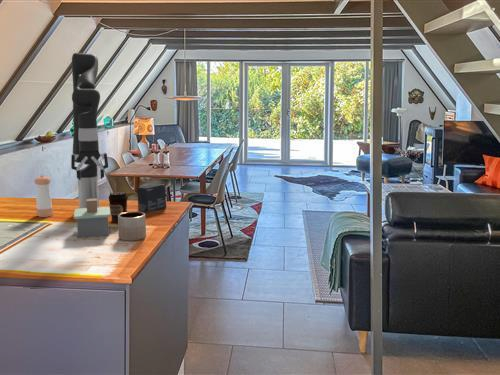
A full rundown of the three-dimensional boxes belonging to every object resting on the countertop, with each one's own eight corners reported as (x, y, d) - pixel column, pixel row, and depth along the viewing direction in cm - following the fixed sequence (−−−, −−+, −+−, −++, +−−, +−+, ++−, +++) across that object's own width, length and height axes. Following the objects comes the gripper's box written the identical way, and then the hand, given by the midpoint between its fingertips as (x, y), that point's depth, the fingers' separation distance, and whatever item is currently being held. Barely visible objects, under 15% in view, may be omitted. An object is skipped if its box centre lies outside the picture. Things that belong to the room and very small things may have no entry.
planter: (121, 234, 210) (120, 211, 208) (147, 233, 211) (146, 211, 209) (116, 241, 199) (115, 218, 197) (144, 241, 200) (143, 217, 198)
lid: (75, 212, 215) (74, 197, 213) (109, 210, 219) (108, 195, 217) (74, 220, 202) (73, 204, 200) (110, 218, 206) (109, 202, 204)
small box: (157, 205, 260) (156, 182, 258) (166, 207, 257) (166, 184, 254) (137, 210, 250) (136, 186, 248) (147, 212, 246) (146, 188, 244)
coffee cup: (123, 224, 225) (122, 195, 222) (105, 223, 226) (104, 194, 224) (131, 219, 233) (130, 191, 231) (114, 218, 235) (113, 190, 232)
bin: (78, 229, 215) (77, 211, 214) (108, 227, 219) (107, 209, 217) (77, 237, 204) (76, 218, 203) (108, 235, 208) (107, 216, 206)
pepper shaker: (33, 216, 237) (29, 175, 234) (44, 212, 244) (41, 173, 240) (45, 217, 235) (42, 176, 231) (56, 214, 241) (53, 174, 237)
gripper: (106, 138, 210) (108, 176, 213) (70, 138, 206) (72, 178, 209) (107, 139, 203) (109, 179, 206) (69, 140, 199) (71, 181, 202)
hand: (90, 179), depth 207 cm, fingers open, 8 cm apart
